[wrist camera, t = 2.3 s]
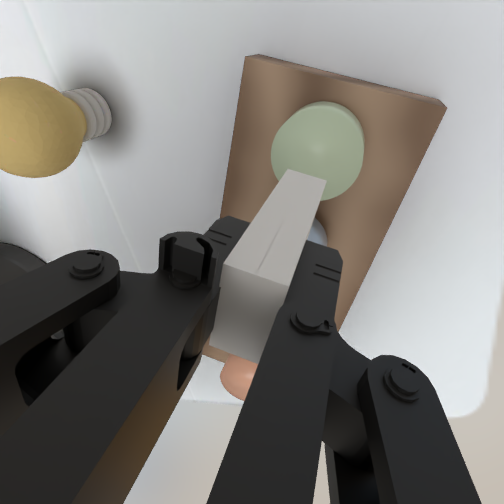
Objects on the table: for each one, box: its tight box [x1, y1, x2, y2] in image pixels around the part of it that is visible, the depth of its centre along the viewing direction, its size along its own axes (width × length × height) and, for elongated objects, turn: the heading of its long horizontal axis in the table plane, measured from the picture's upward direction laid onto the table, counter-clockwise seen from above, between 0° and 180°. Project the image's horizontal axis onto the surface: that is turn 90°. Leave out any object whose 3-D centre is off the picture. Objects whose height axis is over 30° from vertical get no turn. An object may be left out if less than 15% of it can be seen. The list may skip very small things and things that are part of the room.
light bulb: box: [0, 77, 112, 178], centre depth 25 cm, size 6×6×10 cm
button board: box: [202, 54, 447, 363], centre depth 29 cm, size 12×28×3 cm, turn 168°
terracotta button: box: [220, 353, 258, 401], centre depth 32 cm, size 5×5×3 cm
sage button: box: [271, 101, 365, 201], centre depth 20 cm, size 5×5×3 cm
